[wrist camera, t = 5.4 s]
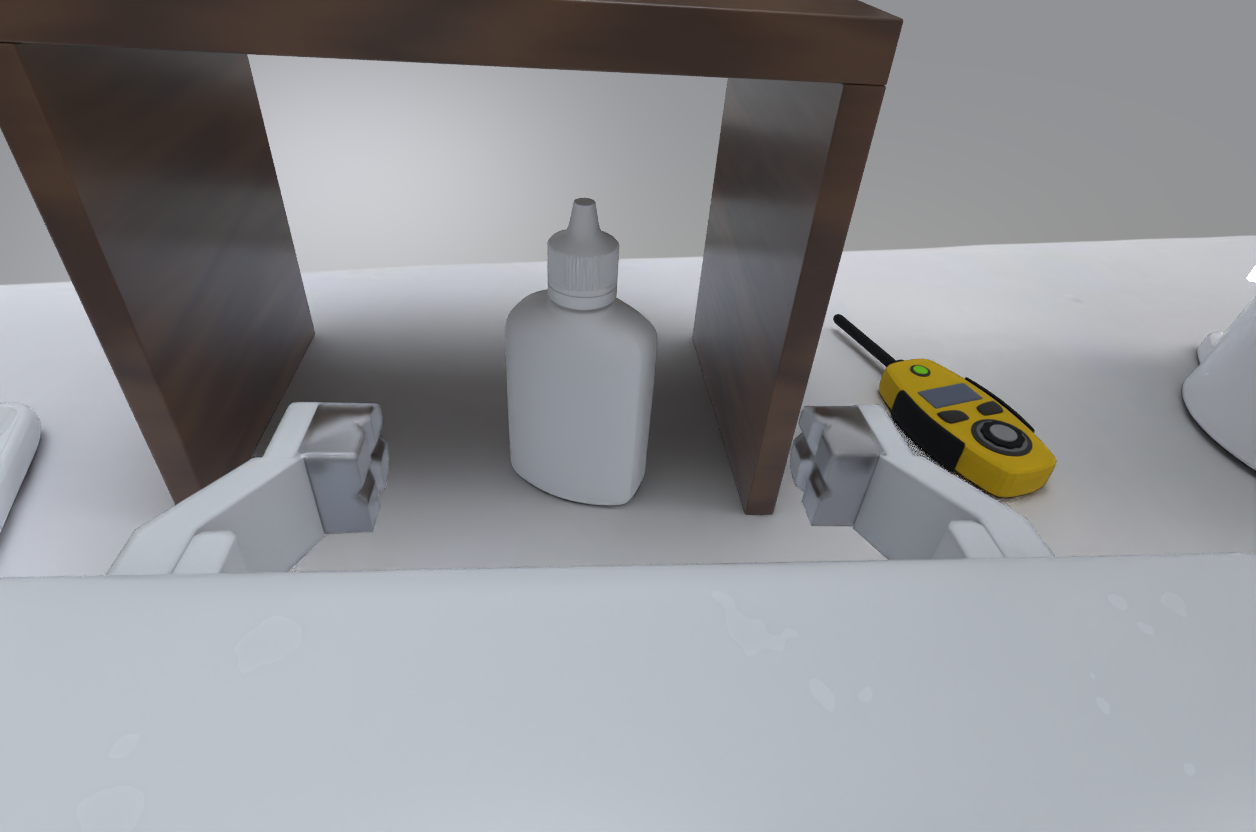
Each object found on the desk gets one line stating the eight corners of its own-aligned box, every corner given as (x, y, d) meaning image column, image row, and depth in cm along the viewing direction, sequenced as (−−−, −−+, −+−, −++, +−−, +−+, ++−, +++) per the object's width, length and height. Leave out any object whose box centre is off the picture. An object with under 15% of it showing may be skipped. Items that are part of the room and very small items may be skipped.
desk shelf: (712, 337, 40) (771, -37, 29) (773, 514, 29) (905, 18, 18) (292, 332, 38) (183, -76, 27) (183, 524, 27) (-80, -40, 16)
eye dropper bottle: (578, 423, 33) (585, 165, 26) (659, 490, 30) (692, 216, 22) (498, 460, 30) (480, 187, 23) (576, 537, 27) (583, 247, 20)
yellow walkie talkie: (999, 475, 29) (804, 303, 40) (982, 509, 30) (797, 332, 41) (1084, 454, 30) (874, 293, 41) (1064, 486, 31) (865, 322, 42)
